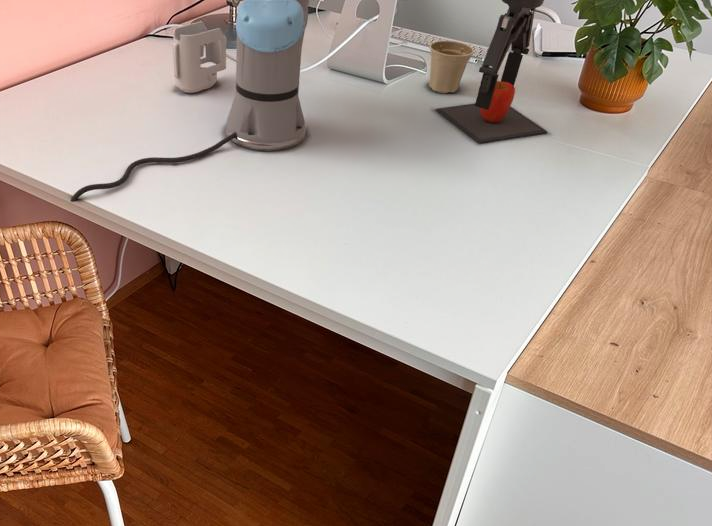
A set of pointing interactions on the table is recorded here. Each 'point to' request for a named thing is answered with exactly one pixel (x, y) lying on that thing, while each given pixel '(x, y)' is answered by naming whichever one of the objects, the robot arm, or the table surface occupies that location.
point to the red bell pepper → (499, 102)
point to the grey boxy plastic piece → (197, 56)
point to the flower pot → (448, 64)
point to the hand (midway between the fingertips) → (494, 96)
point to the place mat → (490, 124)
